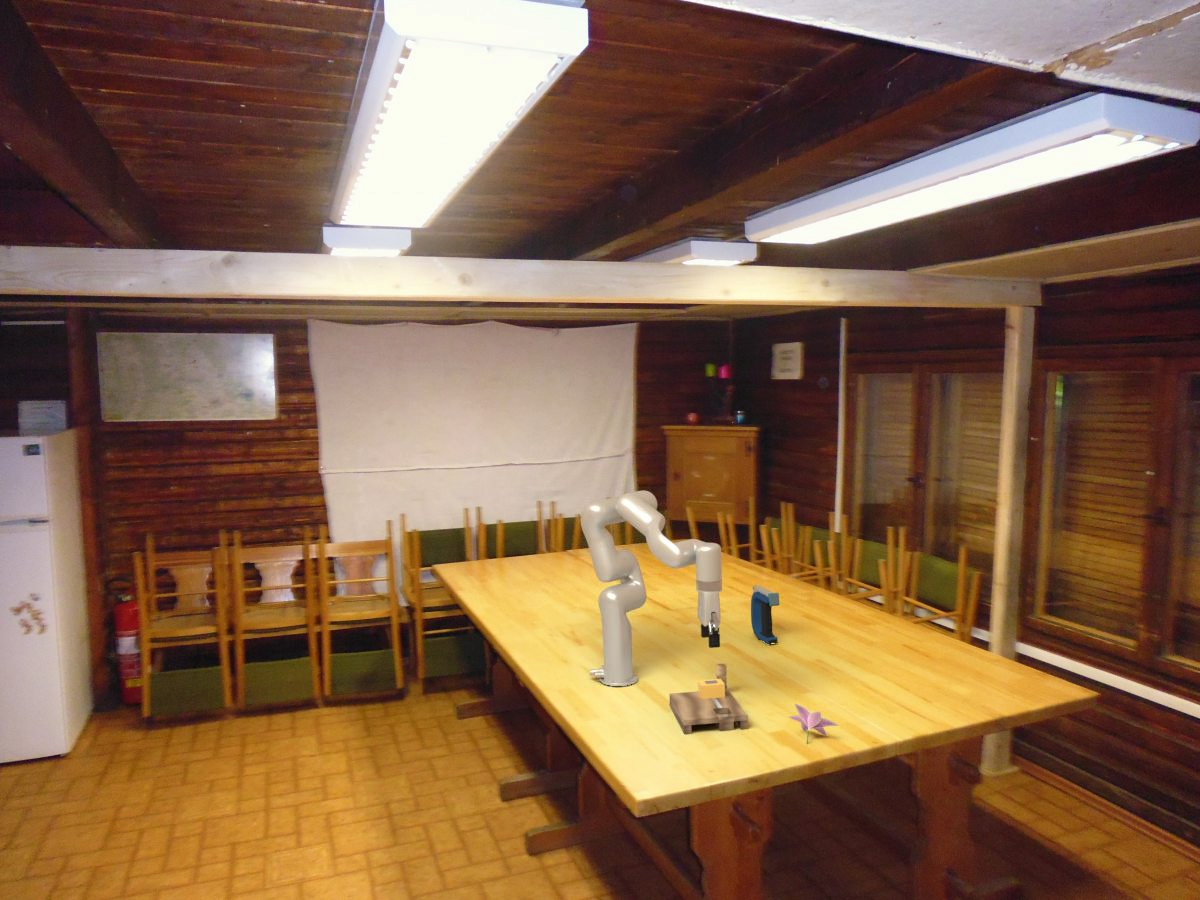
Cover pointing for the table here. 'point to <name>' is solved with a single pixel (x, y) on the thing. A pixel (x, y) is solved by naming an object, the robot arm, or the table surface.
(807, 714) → the lily
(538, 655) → the table surface
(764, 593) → the handheld scanner
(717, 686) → the block
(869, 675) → the table surface
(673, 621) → the table surface
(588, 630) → the table surface
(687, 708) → the board
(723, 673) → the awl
